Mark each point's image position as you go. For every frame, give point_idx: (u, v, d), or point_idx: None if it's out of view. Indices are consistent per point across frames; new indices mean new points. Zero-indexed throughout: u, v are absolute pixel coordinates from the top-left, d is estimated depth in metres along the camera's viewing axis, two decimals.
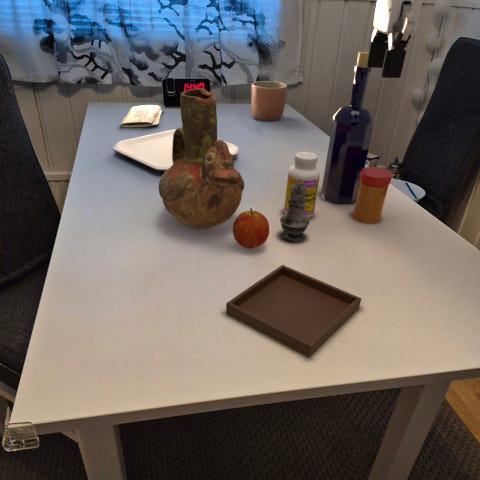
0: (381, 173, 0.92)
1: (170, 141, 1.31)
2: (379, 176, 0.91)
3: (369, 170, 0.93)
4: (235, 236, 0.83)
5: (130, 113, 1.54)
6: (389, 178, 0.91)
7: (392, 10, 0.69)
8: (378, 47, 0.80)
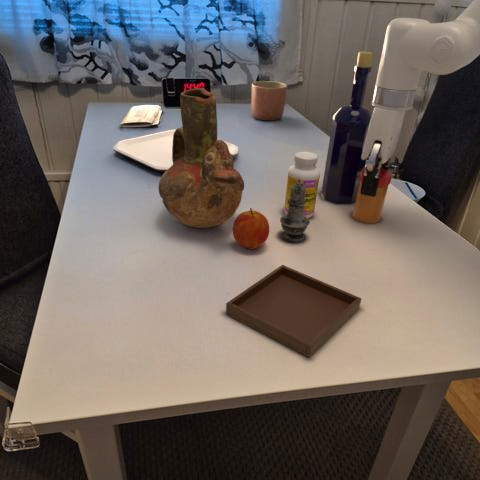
0: (381, 173, 0.92)
1: (170, 141, 1.31)
2: (379, 176, 0.91)
3: None
4: (235, 236, 0.83)
5: (130, 113, 1.54)
6: (389, 178, 0.91)
7: None
8: None
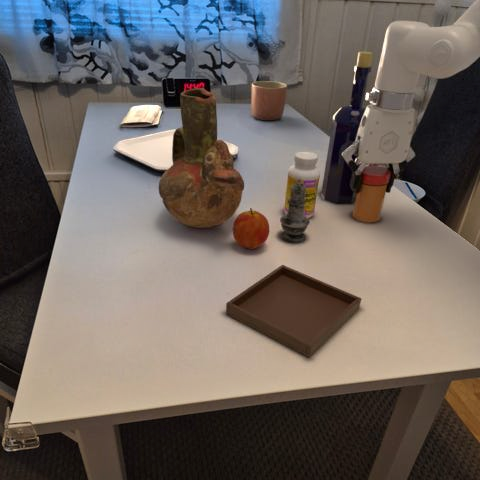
0: (373, 169, 0.93)
1: (170, 141, 1.31)
2: (381, 168, 0.94)
3: (377, 173, 0.91)
4: (235, 236, 0.83)
5: (130, 113, 1.54)
6: None
7: (356, 139, 0.90)
8: None
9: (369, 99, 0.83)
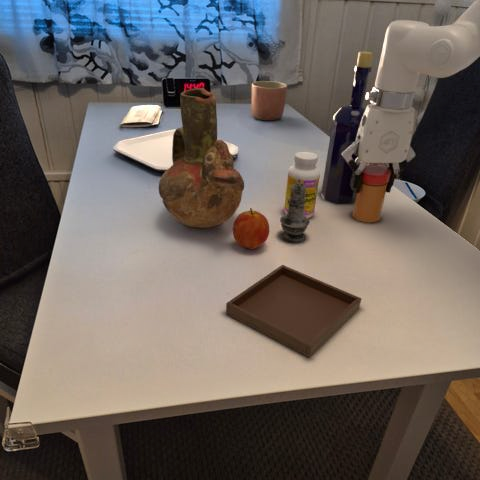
0: (372, 171, 0.92)
1: (170, 141, 1.31)
2: (363, 169, 0.93)
3: (379, 168, 0.93)
4: (235, 236, 0.83)
5: (130, 113, 1.54)
6: (364, 174, 0.91)
7: (356, 139, 0.90)
8: None
9: (369, 98, 0.83)
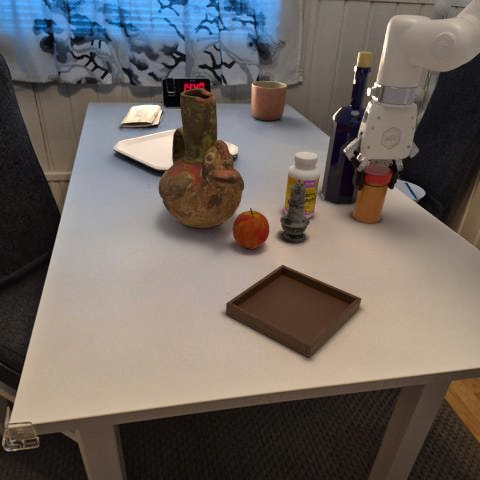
0: (382, 170, 0.92)
1: (170, 141, 1.31)
2: (385, 173, 0.90)
3: (369, 169, 0.92)
4: (235, 236, 0.83)
5: (130, 113, 1.54)
6: (392, 173, 0.92)
7: (358, 135, 0.89)
8: None
9: (370, 94, 0.82)
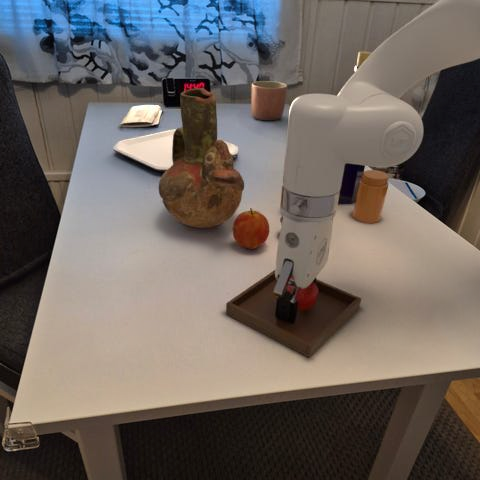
0: None
1: (170, 141, 1.31)
2: (312, 289, 0.67)
3: (290, 291, 0.67)
4: (235, 236, 0.83)
5: (130, 113, 1.54)
6: None
7: (276, 262, 0.61)
8: None
9: (298, 212, 0.55)
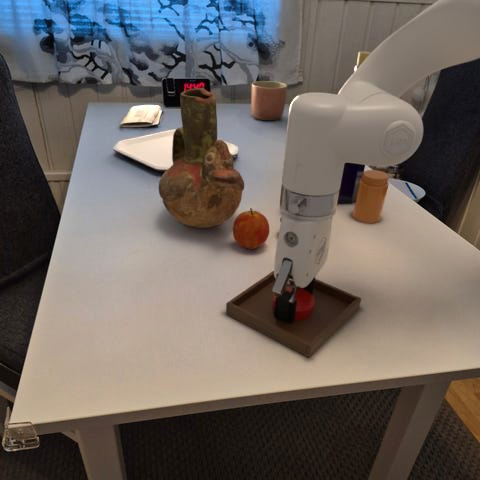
0: (298, 295, 0.69)
1: (170, 141, 1.31)
2: (309, 300, 0.69)
3: None
4: (235, 236, 0.83)
5: (130, 113, 1.54)
6: None
7: (275, 261, 0.61)
8: None
9: (298, 211, 0.55)
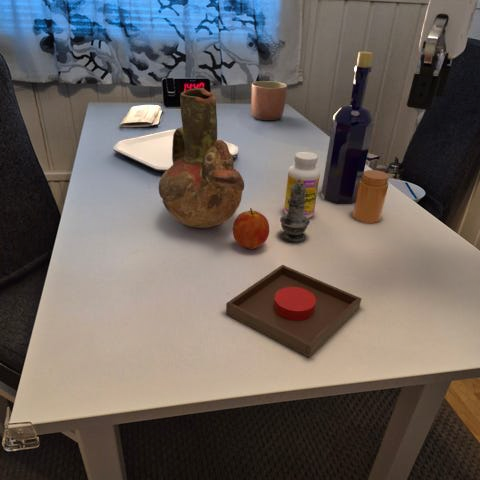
0: (299, 295, 0.69)
1: (170, 141, 1.31)
2: (310, 299, 0.69)
3: (289, 302, 0.68)
4: (235, 236, 0.83)
5: (130, 113, 1.54)
6: None
7: (424, 25, 0.55)
8: None
9: None
